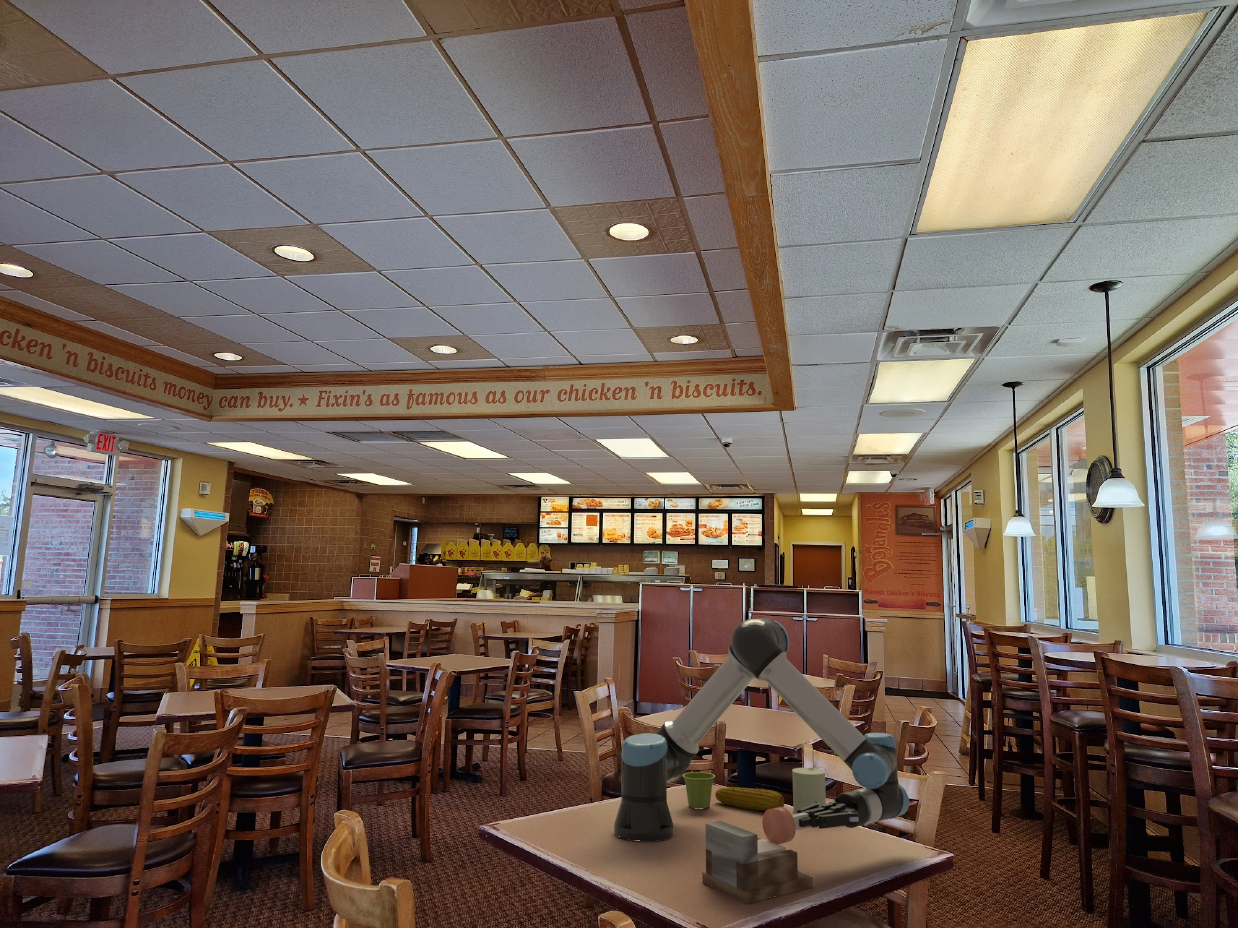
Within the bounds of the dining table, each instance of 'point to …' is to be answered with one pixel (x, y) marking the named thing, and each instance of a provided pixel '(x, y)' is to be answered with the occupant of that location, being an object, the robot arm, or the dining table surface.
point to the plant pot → (699, 788)
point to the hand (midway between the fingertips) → (785, 824)
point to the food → (750, 798)
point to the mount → (749, 866)
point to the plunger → (776, 830)
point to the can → (808, 787)
